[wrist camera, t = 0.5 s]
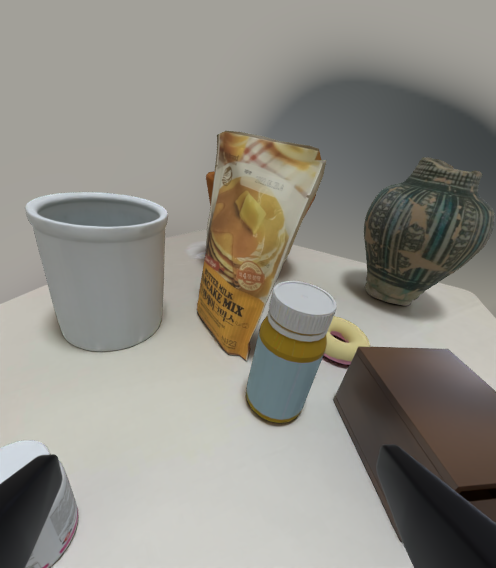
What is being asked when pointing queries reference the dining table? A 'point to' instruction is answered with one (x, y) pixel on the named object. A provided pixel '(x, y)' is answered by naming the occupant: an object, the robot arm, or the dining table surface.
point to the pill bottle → (61, 514)
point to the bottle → (289, 350)
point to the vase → (424, 230)
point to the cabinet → (421, 414)
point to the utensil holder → (102, 265)
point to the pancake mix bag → (252, 229)
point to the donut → (349, 334)
